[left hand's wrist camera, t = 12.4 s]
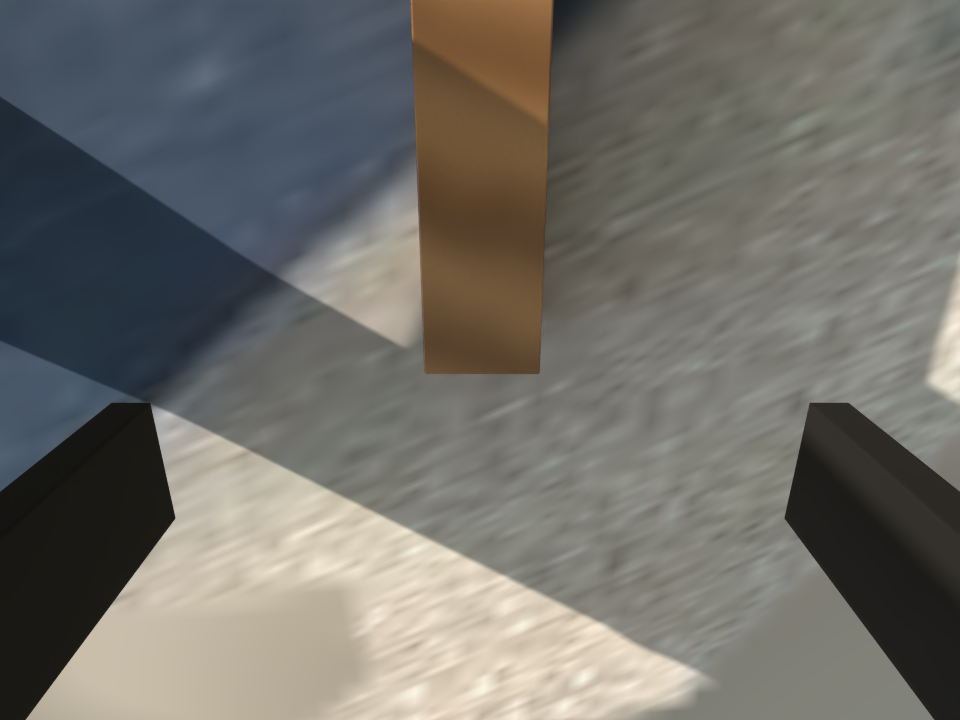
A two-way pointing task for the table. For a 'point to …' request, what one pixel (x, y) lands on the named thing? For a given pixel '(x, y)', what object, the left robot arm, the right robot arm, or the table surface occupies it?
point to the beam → (482, 180)
